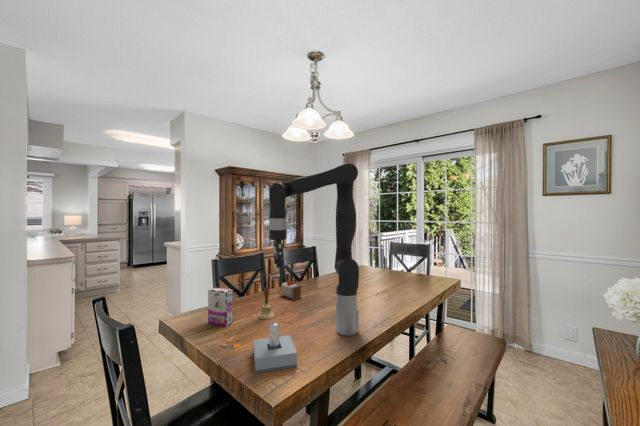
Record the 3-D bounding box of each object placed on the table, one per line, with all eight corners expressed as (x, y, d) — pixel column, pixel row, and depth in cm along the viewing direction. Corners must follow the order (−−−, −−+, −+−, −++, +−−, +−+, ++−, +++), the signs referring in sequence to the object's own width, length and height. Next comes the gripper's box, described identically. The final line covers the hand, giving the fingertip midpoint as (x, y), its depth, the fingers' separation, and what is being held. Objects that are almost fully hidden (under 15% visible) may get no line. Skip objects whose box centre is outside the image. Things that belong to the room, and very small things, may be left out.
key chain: (244, 348, 110) (244, 346, 110) (225, 354, 106) (225, 351, 106) (233, 336, 120) (233, 334, 120) (216, 341, 116) (216, 339, 116)
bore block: (290, 347, 110) (290, 335, 110) (297, 367, 96) (297, 352, 96) (253, 352, 106) (253, 339, 106) (255, 373, 92) (255, 358, 92)
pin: (278, 353, 103) (278, 321, 103) (279, 358, 100) (280, 325, 100) (268, 355, 102) (269, 322, 102) (269, 360, 99) (270, 326, 99)
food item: (279, 296, 177) (279, 280, 177) (289, 293, 183) (289, 278, 183) (292, 301, 167) (292, 284, 167) (303, 298, 173) (303, 282, 173)
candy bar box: (233, 323, 134) (233, 289, 134) (226, 327, 129) (226, 292, 129) (215, 319, 138) (215, 286, 138) (207, 323, 133) (207, 289, 133)
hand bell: (277, 316, 143) (277, 285, 143) (264, 320, 137) (264, 288, 137) (268, 312, 149) (268, 282, 148) (254, 316, 142) (254, 285, 142)
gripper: (289, 229, 116) (289, 268, 116) (283, 227, 130) (283, 262, 130) (271, 229, 114) (271, 269, 114) (267, 227, 128) (267, 263, 128)
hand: (277, 265), depth 122 cm, fingers open, 8 cm apart
